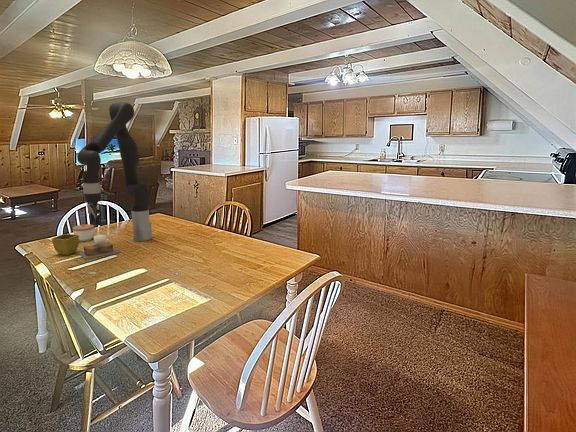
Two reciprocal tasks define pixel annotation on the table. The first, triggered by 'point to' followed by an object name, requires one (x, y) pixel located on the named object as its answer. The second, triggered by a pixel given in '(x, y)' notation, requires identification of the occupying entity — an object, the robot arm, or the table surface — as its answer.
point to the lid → (98, 249)
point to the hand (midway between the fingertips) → (95, 223)
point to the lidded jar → (84, 232)
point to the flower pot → (66, 243)
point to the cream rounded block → (99, 239)
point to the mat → (98, 254)
